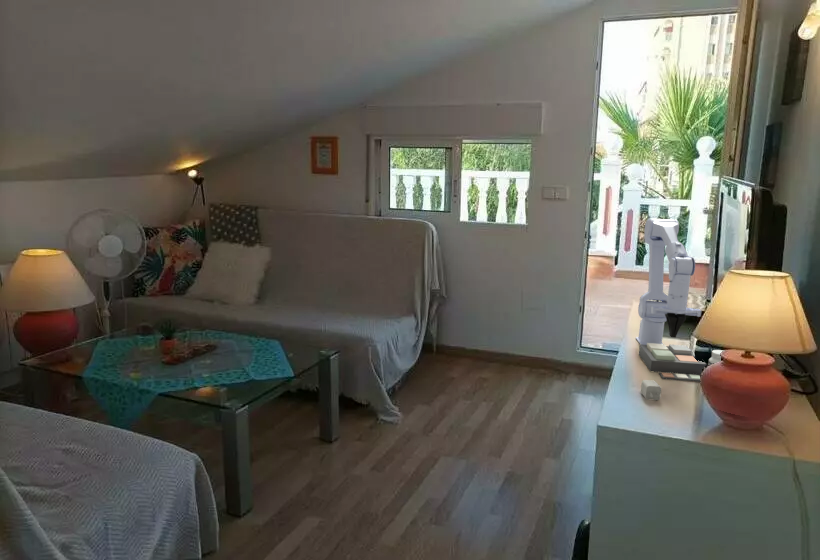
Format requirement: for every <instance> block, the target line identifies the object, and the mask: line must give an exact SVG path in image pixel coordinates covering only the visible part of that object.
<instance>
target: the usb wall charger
mask: <svg viewBox="0 0 820 560" xmlns="http://www.w3.org/2000/svg"><path fill="white" fill-rule="evenodd" d="M640 393H641V395H643V397H644V398H645V400H649V399H653V401H659V400H660V399H661V394H662V387H661V385H659V384H658V382H657V381H656V380H652V379H643V380H642V381H641V385H640Z"/></svg>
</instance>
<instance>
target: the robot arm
mask: <svg viewBox="0 0 820 560" xmlns="http://www.w3.org/2000/svg"><path fill="white" fill-rule="evenodd" d="M679 230H680V223H679V221H678V220H677V219H676V218H672V219H669V218H668V219H667V218H652V217H648V218H647V220H646V221H645V225H644V237H643V238H644V242H645V243H646V244H647V245H648V249H649V254H648V256H649V258H648V259H649V260H648V262H649V263H648V291H647V292H645V293H643V294H642V295H641V296H640V297H639V302H638V307H637V309H638V310H637V311H638V316H639V317H640V318H641V320H640V322H639V331H638V336H635V339H636V341H637V342H638V343H639V345H640V344H642V345H647V343H656V344H664V343H663V336H664V329H665V322H667V326H668V332H669V337H670V338H676V337H677V335H678V332H679V331H680V329H681V327H682V325H683V324H684V323H685V322H686V320H687V317H686V316H694V317H701V316H702V310H701V309H700V308H692V307H687V306H688V298H689V293H690V283H691V277H692V276H693V275H694V273H695V270H696V260H695V258H694V256H691V255H688V252H687V250H686V248H685V246H684V244H683V243H682V242H680V241H679V240H678V234H679V232H680V231H679ZM665 255H666V258H667V259H668V280H669V283H668V284H669V285H668V291H667V294H666V293H664V274H665V273H664V270H665V269H664V266H665V264H664V263H665Z"/></svg>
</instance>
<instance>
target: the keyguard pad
mask: <svg viewBox="0 0 820 560" xmlns="http://www.w3.org/2000/svg"><path fill="white" fill-rule="evenodd" d="M665 346H666V347H667V348H668V349H669V345H665ZM638 348H639V349H638V356H639V357H640V359H641V360H642V362H643V363H644V365H645V366H646V367H647V369H648V370H649V372H650V371H654V372H653V373H673V374H687V375H700V374H701V372H702V369H703V368H704V367H705V366H706V367H707V363H706V362H705V361H704V362H702V361H699V360H698V362H689V361H679V360H678V359H677V358H676V357H675V361H674V360H660V359H655V358H654V356H653V355H652V352H650V351H649V350H648V349H647V345H642V344H640V343H639V347H638ZM688 348H689V349H690V350H691V351H692V350H693V349H692V348H691V347H688ZM669 351H670V350H669ZM672 354H673V353H672ZM673 355H674V356H675V355H685V356H693V357H694V355H693V352H691V355H688V354H673Z"/></svg>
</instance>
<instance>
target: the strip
mask: <svg viewBox="0 0 820 560" xmlns="http://www.w3.org/2000/svg"><path fill="white" fill-rule="evenodd" d="M658 375H659V376H660V378H661V379H662V380H669V381H671V380H672V381H683V382H698V383H701V382H700V375H692V374H678V373H664V372H658Z"/></svg>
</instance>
